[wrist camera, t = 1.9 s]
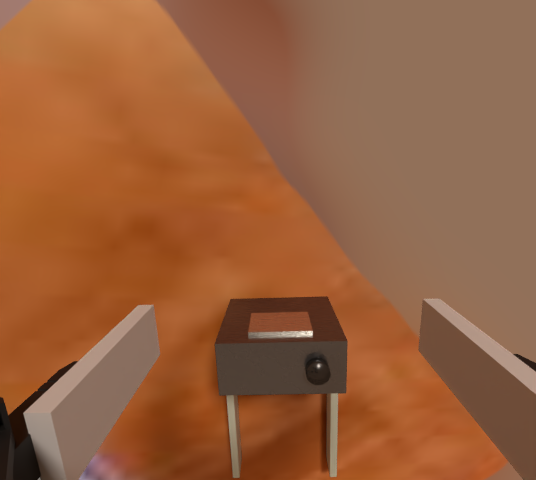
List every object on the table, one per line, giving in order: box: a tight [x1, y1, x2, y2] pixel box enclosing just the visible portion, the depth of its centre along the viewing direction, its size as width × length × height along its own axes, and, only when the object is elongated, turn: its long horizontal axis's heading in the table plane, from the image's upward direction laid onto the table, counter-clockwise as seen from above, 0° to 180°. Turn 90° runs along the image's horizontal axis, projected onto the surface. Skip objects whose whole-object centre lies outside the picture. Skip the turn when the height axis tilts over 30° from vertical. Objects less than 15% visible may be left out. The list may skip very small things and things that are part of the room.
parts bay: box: [227, 393, 338, 478], centre depth 34 cm, size 13×17×2 cm
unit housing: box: [215, 297, 347, 395], centre depth 28 cm, size 11×5×10 cm, turn 92°
